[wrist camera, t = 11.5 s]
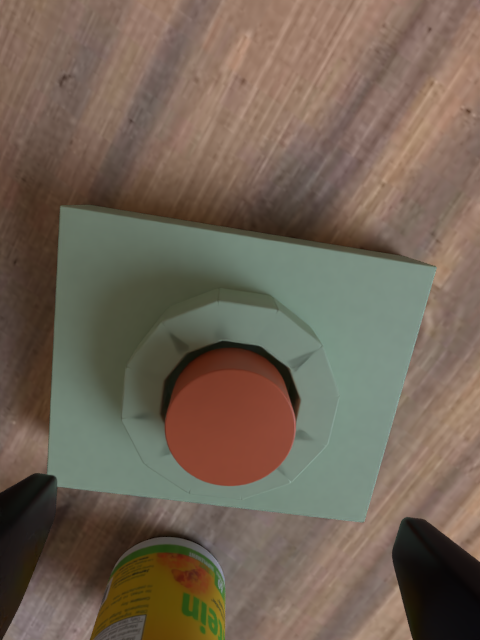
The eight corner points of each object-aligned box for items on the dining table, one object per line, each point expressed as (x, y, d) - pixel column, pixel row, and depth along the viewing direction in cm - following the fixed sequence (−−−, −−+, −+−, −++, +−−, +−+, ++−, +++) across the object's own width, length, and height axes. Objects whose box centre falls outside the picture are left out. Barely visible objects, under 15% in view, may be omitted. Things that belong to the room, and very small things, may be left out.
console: (345, 479, 19) (380, 561, 15) (71, 445, 18) (23, 521, 14) (404, 256, 16) (468, 276, 12) (87, 204, 16) (33, 205, 11)
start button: (276, 458, 14) (282, 494, 12) (165, 444, 14) (157, 479, 12) (297, 355, 13) (308, 378, 11) (179, 338, 13) (172, 360, 11)
